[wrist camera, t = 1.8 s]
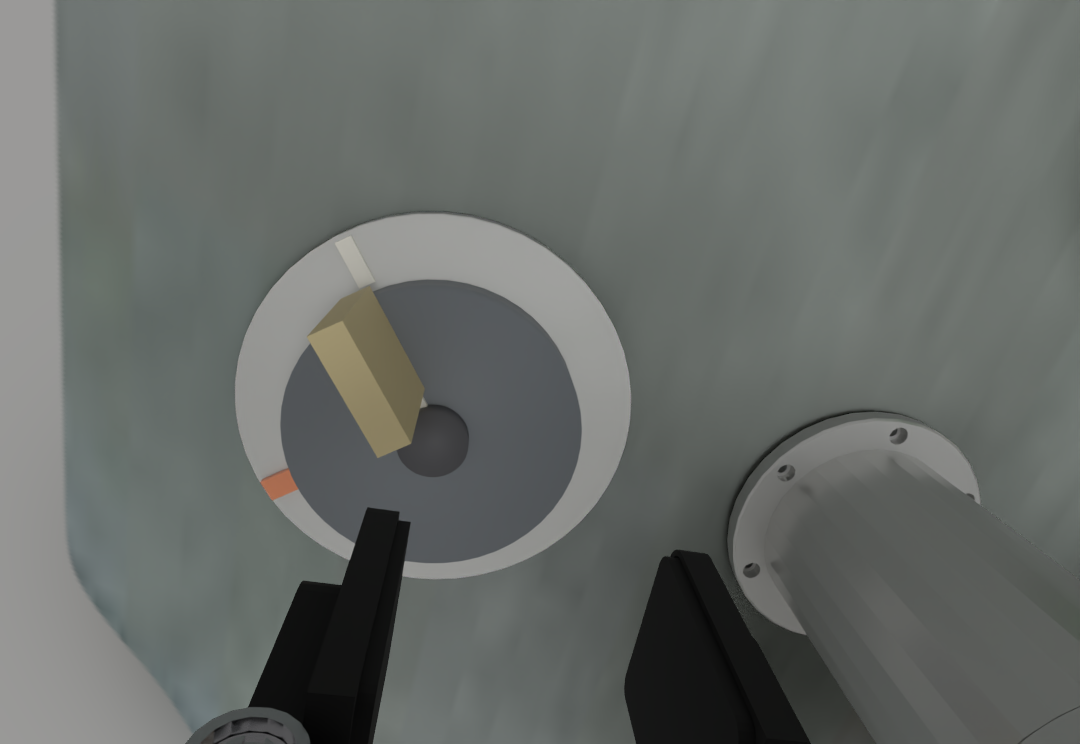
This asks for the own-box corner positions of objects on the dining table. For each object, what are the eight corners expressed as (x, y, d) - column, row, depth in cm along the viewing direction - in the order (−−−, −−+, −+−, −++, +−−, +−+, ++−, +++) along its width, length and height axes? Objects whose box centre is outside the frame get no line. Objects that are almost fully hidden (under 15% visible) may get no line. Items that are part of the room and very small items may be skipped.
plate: (699, 380, 31) (711, 394, 30) (465, 617, 35) (464, 642, 33) (406, 120, 27) (401, 119, 25) (170, 424, 30) (151, 441, 28)
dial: (616, 475, 31) (651, 568, 24) (378, 575, 31) (349, 691, 25) (501, 219, 26) (506, 246, 20) (231, 341, 27) (149, 407, 21)
